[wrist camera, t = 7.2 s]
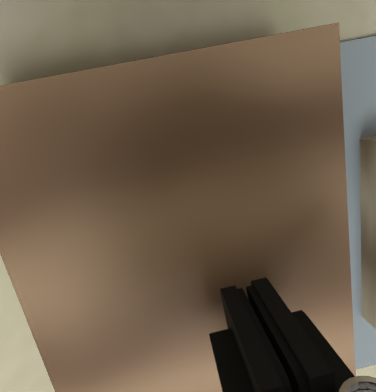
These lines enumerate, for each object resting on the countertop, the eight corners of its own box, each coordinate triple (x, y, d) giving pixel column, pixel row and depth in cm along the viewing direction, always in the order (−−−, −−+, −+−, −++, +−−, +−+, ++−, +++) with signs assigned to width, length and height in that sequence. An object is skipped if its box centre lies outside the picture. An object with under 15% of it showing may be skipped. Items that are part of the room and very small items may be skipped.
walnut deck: (9, 106, 12) (-62, 97, 8) (283, 54, 13) (338, 22, 9) (117, 424, 17) (104, 515, 13) (313, 375, 17) (359, 447, 13)
